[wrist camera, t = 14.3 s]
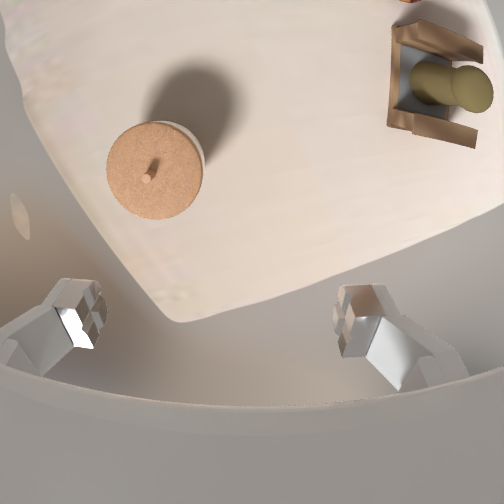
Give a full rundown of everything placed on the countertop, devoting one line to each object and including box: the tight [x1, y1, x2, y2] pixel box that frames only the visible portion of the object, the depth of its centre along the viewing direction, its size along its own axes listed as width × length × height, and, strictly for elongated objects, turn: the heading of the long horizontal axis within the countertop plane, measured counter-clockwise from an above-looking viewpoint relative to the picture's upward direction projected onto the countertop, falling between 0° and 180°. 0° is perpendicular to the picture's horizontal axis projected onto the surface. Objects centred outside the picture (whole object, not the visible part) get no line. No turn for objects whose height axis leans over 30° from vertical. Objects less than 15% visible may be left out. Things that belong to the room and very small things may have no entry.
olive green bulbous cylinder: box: [410, 61, 493, 113], centre depth 23 cm, size 6×6×11 cm
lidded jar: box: [106, 121, 205, 220], centre depth 31 cm, size 11×11×9 cm
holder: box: [387, 19, 483, 149], centre depth 26 cm, size 14×9×8 cm
